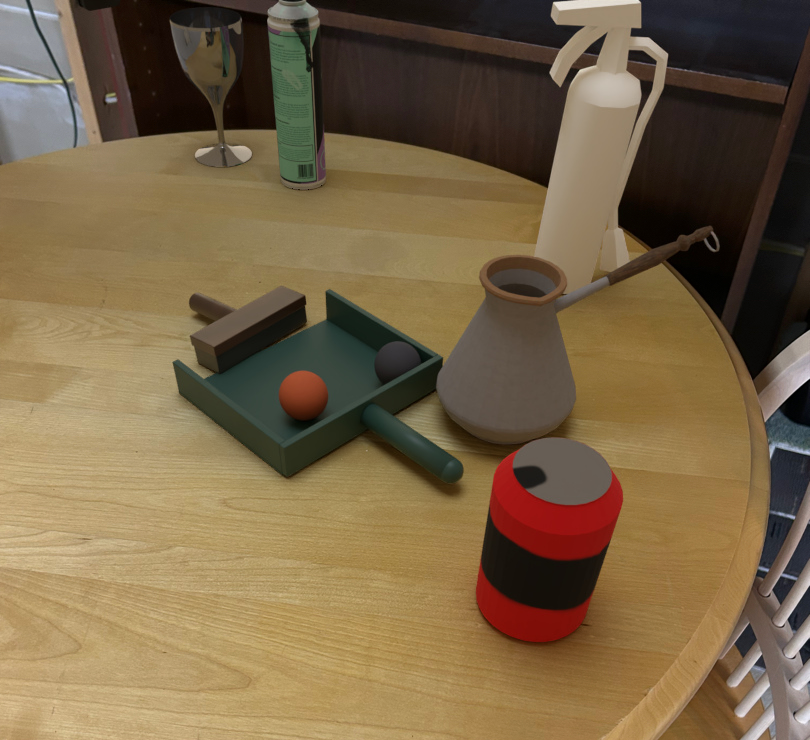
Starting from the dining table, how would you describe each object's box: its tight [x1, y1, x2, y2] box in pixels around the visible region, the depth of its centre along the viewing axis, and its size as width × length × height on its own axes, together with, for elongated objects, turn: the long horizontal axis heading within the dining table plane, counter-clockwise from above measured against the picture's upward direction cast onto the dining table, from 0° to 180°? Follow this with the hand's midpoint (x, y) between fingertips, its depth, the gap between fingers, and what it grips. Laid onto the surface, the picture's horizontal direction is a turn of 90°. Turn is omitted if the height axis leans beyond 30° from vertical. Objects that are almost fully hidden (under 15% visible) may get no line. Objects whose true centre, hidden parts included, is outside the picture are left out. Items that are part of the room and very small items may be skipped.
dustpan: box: [172, 288, 465, 485], centre depth 66 cm, size 25×17×3 cm
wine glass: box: [169, 6, 253, 168], centre depth 96 cm, size 8×8×15 cm
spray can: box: [267, 0, 327, 191], centre depth 90 cm, size 6×6×20 cm
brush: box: [188, 285, 308, 374], centre depth 74 cm, size 9×11×3 cm
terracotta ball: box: [279, 371, 328, 421], centre depth 65 cm, size 4×4×4 cm
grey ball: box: [374, 341, 421, 385], centre depth 69 cm, size 4×4×4 cm
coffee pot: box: [435, 225, 720, 446], centre depth 63 cm, size 21×12×15 cm, turn 107°
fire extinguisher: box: [533, 0, 669, 295], centre depth 74 cm, size 7×12×25 cm, turn 95°
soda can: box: [475, 437, 624, 643], centre depth 50 cm, size 8×8×12 cm
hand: (98, 5), depth 67 cm, fingers closed
